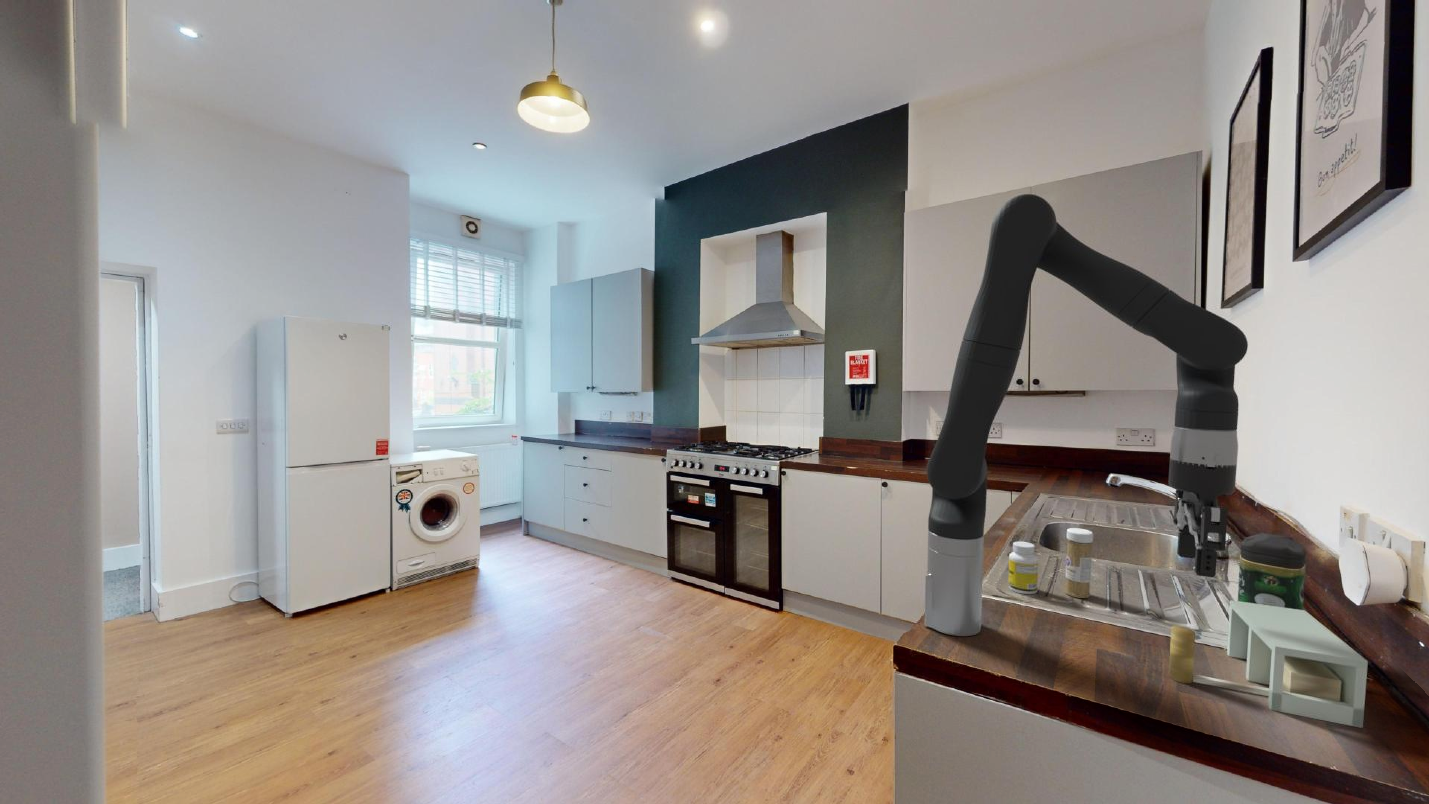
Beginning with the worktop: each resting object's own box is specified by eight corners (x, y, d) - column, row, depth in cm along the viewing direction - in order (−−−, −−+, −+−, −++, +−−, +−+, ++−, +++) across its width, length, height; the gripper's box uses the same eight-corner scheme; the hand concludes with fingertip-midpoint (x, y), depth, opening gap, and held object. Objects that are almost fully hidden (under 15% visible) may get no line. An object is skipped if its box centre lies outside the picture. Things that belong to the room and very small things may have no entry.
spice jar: (1059, 590, 120) (1061, 527, 119) (1079, 589, 121) (1082, 526, 120) (1075, 599, 116) (1077, 534, 115) (1096, 598, 116) (1098, 533, 115)
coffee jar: (1239, 628, 103) (1245, 526, 102) (1302, 644, 97) (1309, 536, 96) (1230, 646, 97) (1237, 537, 95) (1297, 664, 91) (1305, 549, 89)
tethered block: (1173, 684, 85) (1176, 635, 85) (1164, 668, 90) (1167, 621, 89) (1338, 716, 77) (1342, 662, 77) (1319, 697, 82) (1323, 646, 81)
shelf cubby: (1271, 709, 79) (1275, 646, 78) (1226, 653, 94) (1230, 600, 93) (1362, 728, 75) (1367, 661, 74) (1300, 666, 90) (1304, 610, 89)
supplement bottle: (1009, 583, 124) (1010, 538, 124) (1037, 588, 122) (1039, 542, 121) (1007, 591, 120) (1008, 545, 119) (1036, 597, 117) (1038, 549, 116)
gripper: (1158, 450, 93) (1152, 548, 94) (1185, 464, 80) (1177, 578, 81) (1218, 453, 89) (1210, 555, 91) (1256, 469, 77) (1246, 587, 78)
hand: (1195, 566), depth 86 cm, fingers open, 8 cm apart
